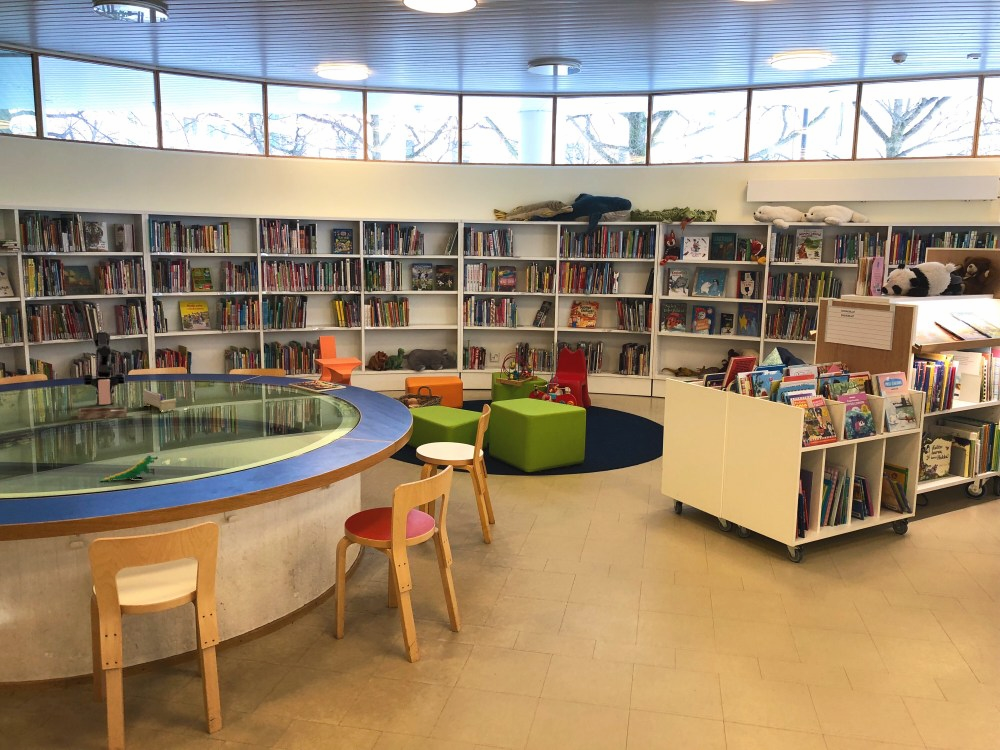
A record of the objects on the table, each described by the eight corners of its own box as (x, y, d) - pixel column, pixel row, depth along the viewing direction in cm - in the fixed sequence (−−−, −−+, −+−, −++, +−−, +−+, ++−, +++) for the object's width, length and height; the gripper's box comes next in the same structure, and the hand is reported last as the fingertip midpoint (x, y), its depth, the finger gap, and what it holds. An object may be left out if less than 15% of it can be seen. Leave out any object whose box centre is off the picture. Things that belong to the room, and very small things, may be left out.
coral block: (99, 404, 403) (98, 381, 402) (99, 402, 408) (98, 379, 406) (110, 404, 406) (109, 380, 404) (110, 402, 410) (109, 379, 408)
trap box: (78, 419, 398) (77, 412, 398) (79, 415, 407) (79, 408, 407) (126, 417, 407) (126, 410, 407) (126, 413, 416) (126, 406, 416)
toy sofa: (176, 411, 427) (176, 392, 425) (161, 413, 420) (160, 394, 419) (158, 405, 440) (157, 387, 439) (142, 407, 434) (141, 388, 432)
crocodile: (100, 483, 298) (99, 461, 297) (101, 479, 303) (100, 457, 302) (158, 479, 306) (157, 457, 305) (158, 475, 311) (157, 453, 310)
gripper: (83, 359, 403) (82, 384, 395) (123, 358, 410) (123, 383, 402) (84, 371, 411) (84, 396, 403) (124, 370, 419) (124, 395, 411)
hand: (104, 392), depth 405 cm, fingers closed on coral block, 5 cm apart
